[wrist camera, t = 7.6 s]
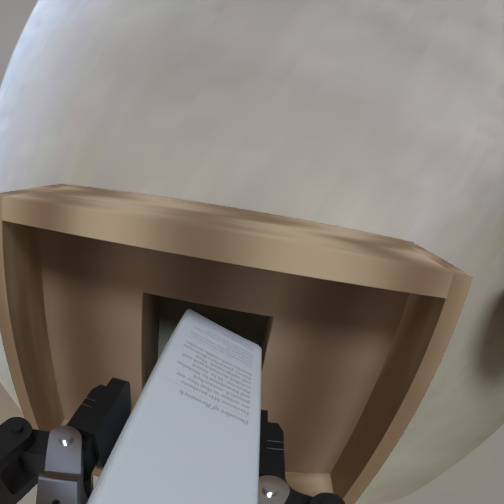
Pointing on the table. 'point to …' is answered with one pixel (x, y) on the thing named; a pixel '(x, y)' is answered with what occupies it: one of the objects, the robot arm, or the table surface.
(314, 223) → the crate
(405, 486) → the table surface
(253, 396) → the skincare box
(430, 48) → the table surface
